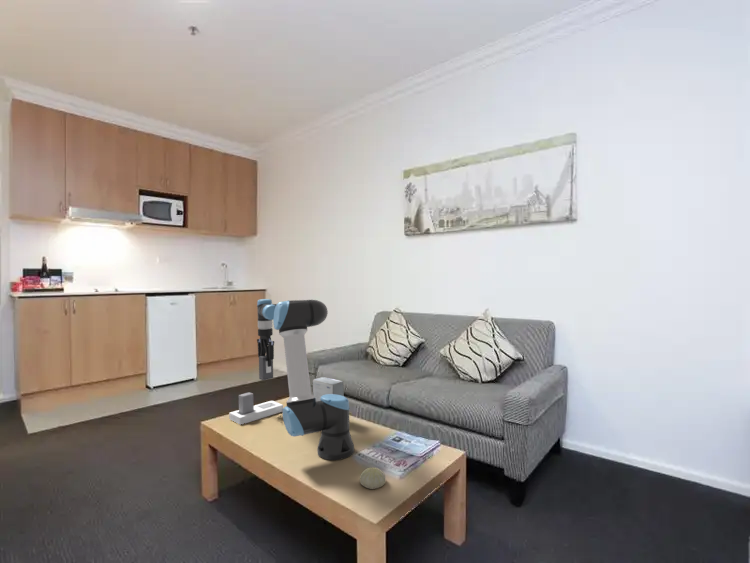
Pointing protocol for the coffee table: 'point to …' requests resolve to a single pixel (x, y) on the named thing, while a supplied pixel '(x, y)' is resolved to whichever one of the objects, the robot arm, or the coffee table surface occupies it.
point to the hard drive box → (327, 387)
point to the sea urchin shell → (372, 478)
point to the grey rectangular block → (264, 368)
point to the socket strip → (257, 412)
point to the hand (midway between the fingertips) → (266, 371)
